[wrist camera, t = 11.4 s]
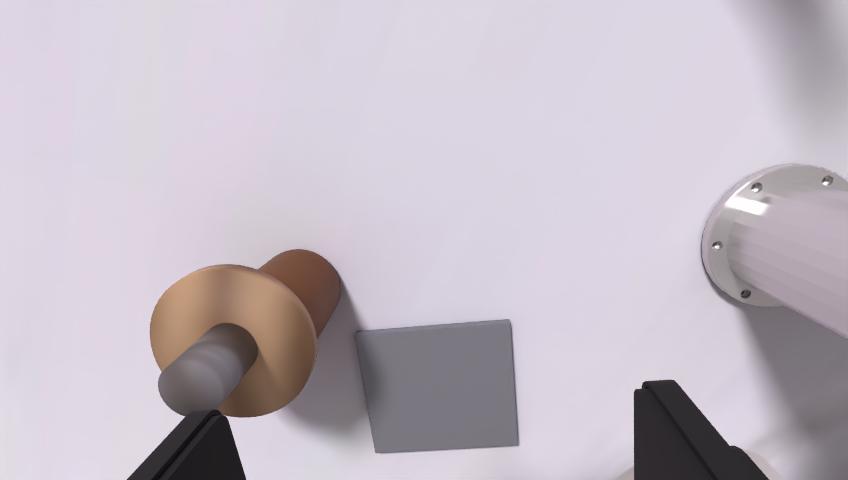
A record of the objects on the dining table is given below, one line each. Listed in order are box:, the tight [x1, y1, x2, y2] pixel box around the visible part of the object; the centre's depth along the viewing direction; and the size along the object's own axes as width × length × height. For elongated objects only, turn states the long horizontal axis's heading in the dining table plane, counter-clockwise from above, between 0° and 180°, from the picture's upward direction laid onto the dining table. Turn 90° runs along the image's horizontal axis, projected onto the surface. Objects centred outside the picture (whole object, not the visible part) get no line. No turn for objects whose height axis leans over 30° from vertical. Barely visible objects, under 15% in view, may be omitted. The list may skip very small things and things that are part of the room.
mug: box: [258, 249, 340, 339], centre depth 36 cm, size 12×8×9 cm, turn 107°
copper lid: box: [150, 264, 317, 417], centre depth 28 cm, size 12×12×6 cm
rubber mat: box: [355, 319, 518, 453], centre depth 42 cm, size 15×14×1 cm
